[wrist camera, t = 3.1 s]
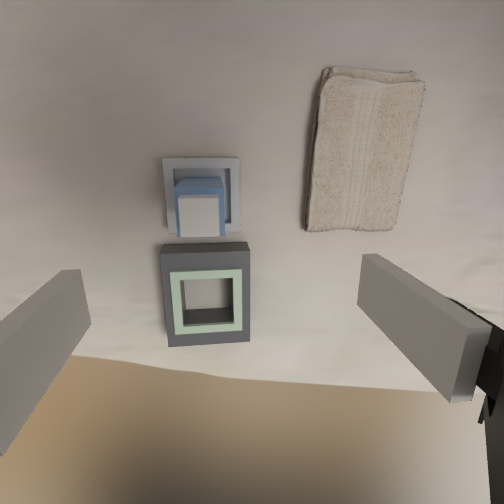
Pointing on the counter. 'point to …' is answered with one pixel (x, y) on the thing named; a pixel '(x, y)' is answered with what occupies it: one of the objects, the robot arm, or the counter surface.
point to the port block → (206, 267)
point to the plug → (200, 207)
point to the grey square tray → (204, 168)
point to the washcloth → (360, 148)
